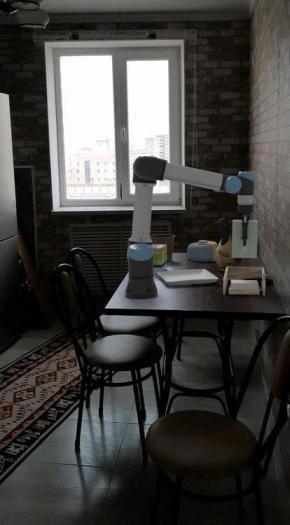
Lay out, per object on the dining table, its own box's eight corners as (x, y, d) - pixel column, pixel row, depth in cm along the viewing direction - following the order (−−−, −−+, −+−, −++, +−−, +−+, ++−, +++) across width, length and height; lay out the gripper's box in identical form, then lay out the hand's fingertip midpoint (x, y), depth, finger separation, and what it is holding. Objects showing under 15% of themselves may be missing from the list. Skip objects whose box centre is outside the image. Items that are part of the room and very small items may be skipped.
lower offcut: (259, 295, 243) (259, 289, 242) (228, 295, 245) (228, 289, 245) (259, 292, 249) (259, 286, 249) (229, 291, 252) (229, 285, 251)
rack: (265, 295, 241) (265, 280, 239) (223, 294, 244) (223, 279, 243) (263, 280, 272) (263, 267, 271) (226, 279, 276) (226, 266, 275)
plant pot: (146, 262, 329) (146, 237, 327) (153, 258, 345) (153, 234, 342) (171, 263, 325) (171, 237, 322) (177, 259, 340) (177, 234, 337)
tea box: (163, 274, 294) (162, 247, 292) (145, 273, 296) (144, 247, 294) (167, 268, 309) (167, 243, 306) (150, 268, 311) (150, 243, 308)
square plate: (204, 274, 291) (204, 268, 290) (219, 285, 264) (219, 277, 264) (155, 277, 287) (155, 270, 286) (166, 288, 260) (166, 280, 259)
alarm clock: (220, 261, 329) (220, 242, 327) (188, 262, 329) (188, 243, 327) (217, 256, 348) (217, 238, 346) (186, 257, 348) (186, 239, 346)
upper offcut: (258, 289, 242) (258, 283, 242) (231, 289, 244) (231, 283, 243) (256, 286, 249) (256, 279, 249) (230, 285, 250) (230, 279, 250)
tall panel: (256, 258, 256) (257, 221, 253) (231, 257, 258) (232, 220, 255) (256, 256, 261) (257, 220, 257) (232, 255, 263) (232, 219, 260)
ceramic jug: (229, 266, 311) (229, 216, 306) (247, 270, 299) (248, 217, 293) (207, 270, 302) (207, 218, 297) (225, 274, 290) (225, 220, 284)
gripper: (253, 205, 245) (252, 254, 249) (253, 202, 263) (252, 248, 267) (237, 205, 247) (236, 254, 251) (238, 202, 264) (237, 248, 268)
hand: (244, 251), depth 259 cm, fingers closed on tall panel, 5 cm apart
